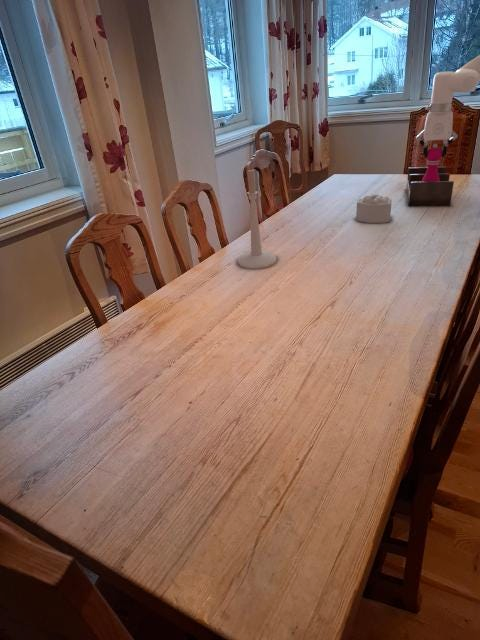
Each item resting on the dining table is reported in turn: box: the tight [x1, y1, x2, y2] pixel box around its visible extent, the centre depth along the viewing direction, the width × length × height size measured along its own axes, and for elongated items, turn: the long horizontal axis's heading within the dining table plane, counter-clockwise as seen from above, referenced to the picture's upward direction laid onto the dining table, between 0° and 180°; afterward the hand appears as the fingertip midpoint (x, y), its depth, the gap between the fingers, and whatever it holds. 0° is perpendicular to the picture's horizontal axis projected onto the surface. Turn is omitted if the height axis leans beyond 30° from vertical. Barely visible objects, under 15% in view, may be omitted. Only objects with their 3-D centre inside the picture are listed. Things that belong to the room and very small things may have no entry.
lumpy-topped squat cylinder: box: [355, 193, 392, 224], centre depth 169 cm, size 10×13×9 cm
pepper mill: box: [422, 142, 443, 182], centre depth 178 cm, size 7×7×20 cm
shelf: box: [405, 166, 455, 207], centre depth 188 cm, size 16×28×10 cm, turn 163°
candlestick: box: [237, 169, 277, 270], centre depth 137 cm, size 13×13×30 cm
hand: (433, 156), depth 176 cm, fingers closed on pepper mill, 6 cm apart
